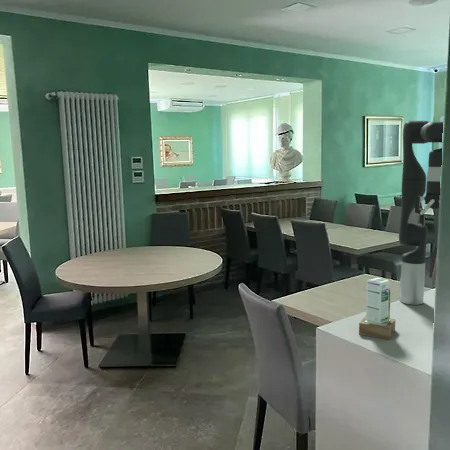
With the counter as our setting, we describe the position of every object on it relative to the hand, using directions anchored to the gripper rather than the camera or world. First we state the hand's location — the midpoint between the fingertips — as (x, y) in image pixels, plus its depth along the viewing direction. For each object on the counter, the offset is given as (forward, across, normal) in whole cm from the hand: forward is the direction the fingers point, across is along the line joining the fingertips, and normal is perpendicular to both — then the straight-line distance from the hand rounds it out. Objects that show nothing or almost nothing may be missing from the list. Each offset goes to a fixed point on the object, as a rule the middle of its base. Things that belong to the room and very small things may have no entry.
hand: (436, 225), depth 164 cm
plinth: (+36, +15, +18) cm, 43 cm away
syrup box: (+32, +15, +18) cm, 40 cm away
